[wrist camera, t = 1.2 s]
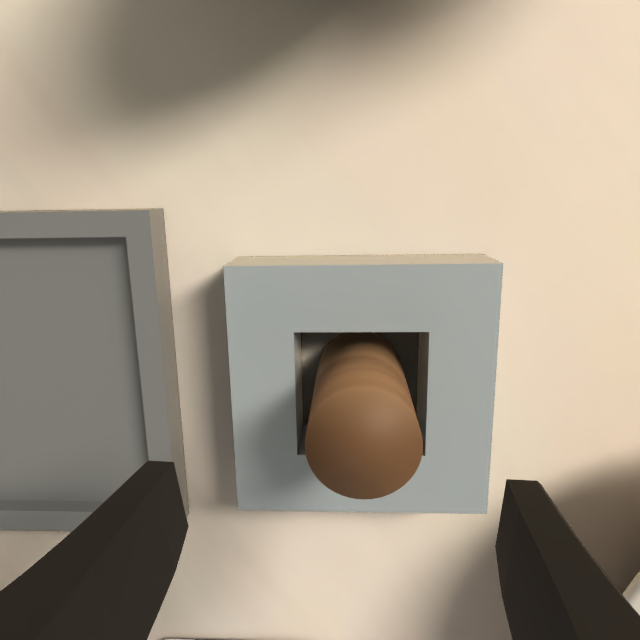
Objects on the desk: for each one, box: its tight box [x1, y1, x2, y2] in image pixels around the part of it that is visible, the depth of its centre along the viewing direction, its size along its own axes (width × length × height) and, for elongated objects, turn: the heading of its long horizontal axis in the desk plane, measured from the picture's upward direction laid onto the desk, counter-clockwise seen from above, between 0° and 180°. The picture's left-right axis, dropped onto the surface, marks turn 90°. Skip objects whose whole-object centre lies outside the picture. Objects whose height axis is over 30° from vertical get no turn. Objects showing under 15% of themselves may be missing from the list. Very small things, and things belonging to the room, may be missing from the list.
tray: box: [0, 208, 189, 531], centre depth 23 cm, size 14×14×2 cm
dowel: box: [305, 332, 423, 500], centre depth 20 cm, size 4×4×7 cm
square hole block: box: [223, 254, 503, 514], centre depth 22 cm, size 10×10×3 cm
